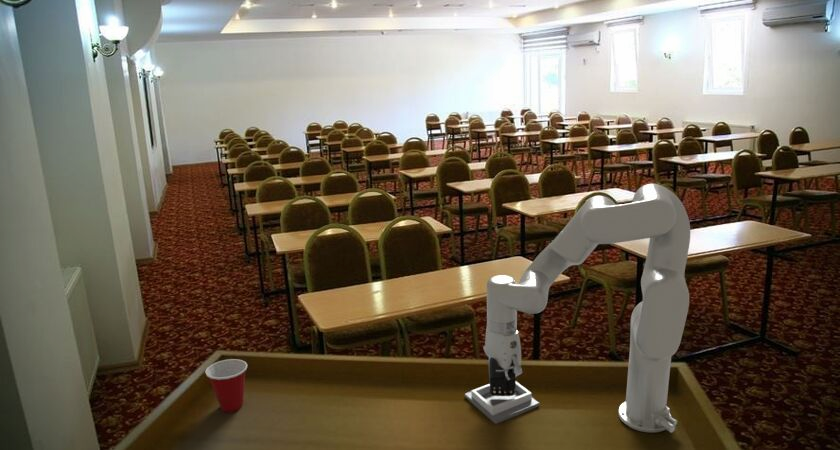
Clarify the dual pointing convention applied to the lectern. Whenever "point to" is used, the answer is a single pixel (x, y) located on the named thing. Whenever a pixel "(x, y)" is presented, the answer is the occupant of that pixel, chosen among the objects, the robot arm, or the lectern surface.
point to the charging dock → (502, 402)
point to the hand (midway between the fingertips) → (502, 383)
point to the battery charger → (498, 379)
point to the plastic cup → (228, 383)
